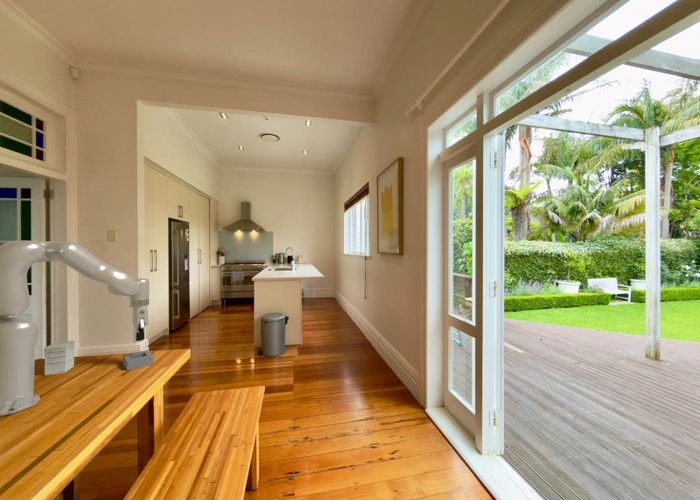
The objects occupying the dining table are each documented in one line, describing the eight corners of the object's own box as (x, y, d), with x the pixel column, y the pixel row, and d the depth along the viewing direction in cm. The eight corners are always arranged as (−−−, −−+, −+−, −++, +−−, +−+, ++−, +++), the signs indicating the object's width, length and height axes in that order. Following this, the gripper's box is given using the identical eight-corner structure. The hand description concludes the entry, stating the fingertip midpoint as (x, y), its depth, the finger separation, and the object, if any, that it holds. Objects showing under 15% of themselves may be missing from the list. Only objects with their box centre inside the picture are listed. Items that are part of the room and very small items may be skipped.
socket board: (153, 364, 132) (153, 356, 132) (127, 370, 124) (127, 362, 124) (147, 357, 139) (147, 350, 139) (122, 363, 132) (122, 355, 132)
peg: (145, 342, 132) (145, 324, 132) (135, 344, 129) (135, 326, 129) (143, 340, 135) (143, 323, 135) (133, 342, 132) (133, 324, 132)
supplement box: (53, 369, 124) (54, 342, 124) (74, 366, 127) (75, 340, 127) (43, 375, 117) (44, 347, 118) (65, 372, 121) (66, 345, 121)
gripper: (153, 304, 130) (152, 341, 130) (144, 299, 141) (144, 333, 141) (133, 306, 124) (133, 345, 124) (126, 301, 135) (126, 337, 135)
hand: (139, 338), depth 132 cm, fingers closed on peg, 4 cm apart
